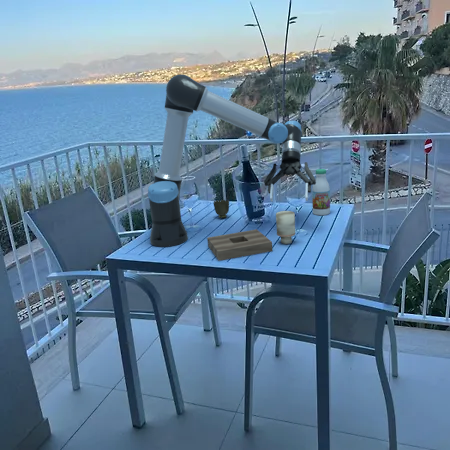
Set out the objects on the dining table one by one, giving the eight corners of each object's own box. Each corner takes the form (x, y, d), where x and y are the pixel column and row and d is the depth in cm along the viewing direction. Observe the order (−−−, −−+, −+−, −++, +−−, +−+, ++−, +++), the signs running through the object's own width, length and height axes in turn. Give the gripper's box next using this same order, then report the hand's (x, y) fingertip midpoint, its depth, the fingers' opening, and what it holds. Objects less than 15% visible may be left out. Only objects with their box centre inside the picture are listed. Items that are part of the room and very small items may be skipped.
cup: (228, 219, 187) (227, 203, 184) (213, 220, 188) (211, 203, 186) (231, 215, 194) (230, 198, 191) (216, 215, 195) (215, 199, 193)
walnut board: (208, 246, 156) (207, 237, 155) (257, 237, 161) (256, 229, 160) (218, 260, 141) (217, 251, 140) (272, 251, 146) (272, 241, 145)
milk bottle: (310, 212, 188) (309, 169, 182) (325, 210, 189) (325, 167, 183) (316, 216, 181) (315, 172, 175) (332, 214, 182) (332, 170, 176)
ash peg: (274, 240, 156) (273, 212, 152) (290, 237, 157) (290, 209, 154) (281, 246, 149) (280, 217, 146) (298, 243, 151) (297, 214, 147)
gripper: (322, 158, 167) (322, 203, 158) (262, 161, 174) (258, 204, 165) (322, 147, 161) (321, 193, 152) (259, 150, 167) (255, 195, 158)
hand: (288, 199), depth 158 cm, fingers open, 13 cm apart
